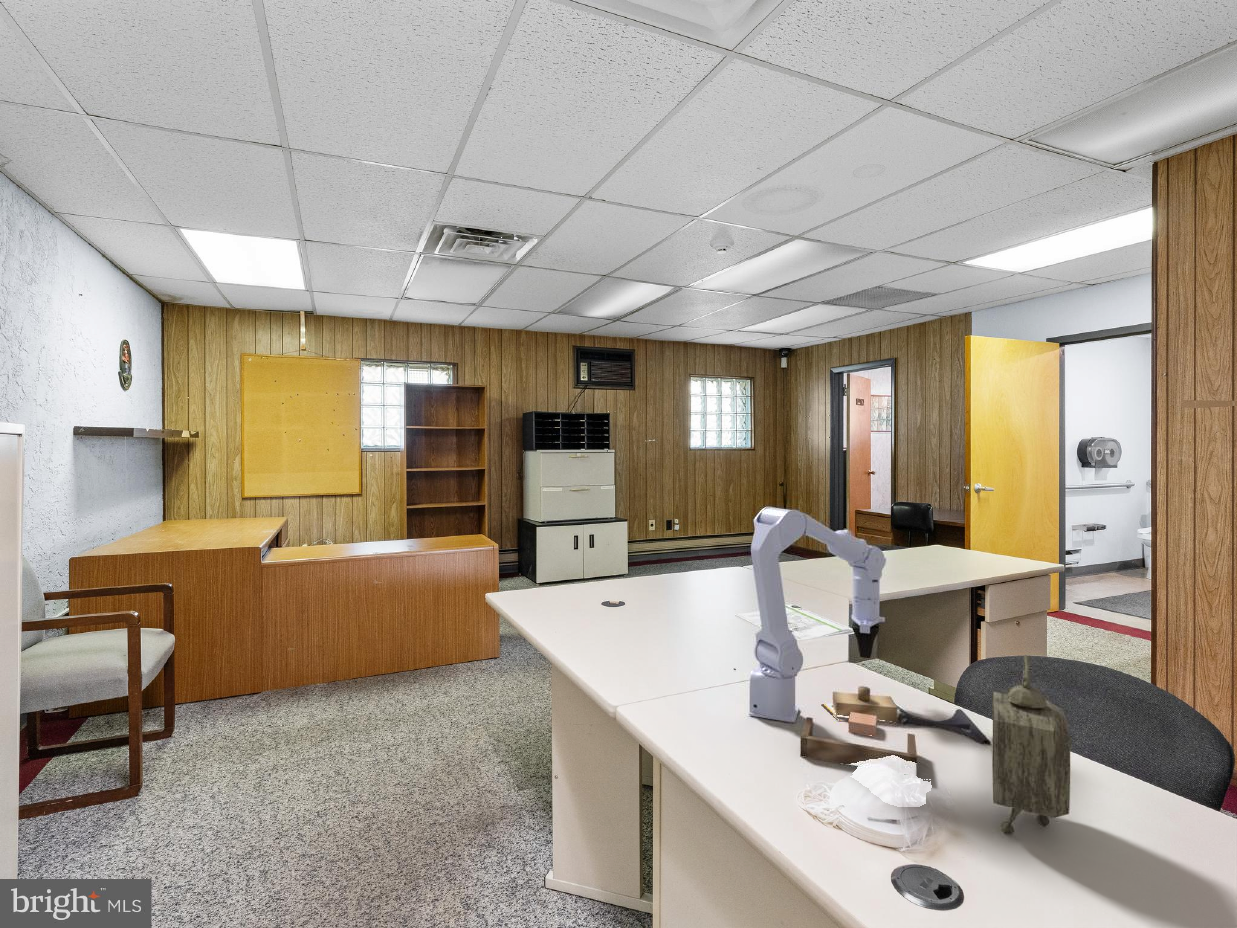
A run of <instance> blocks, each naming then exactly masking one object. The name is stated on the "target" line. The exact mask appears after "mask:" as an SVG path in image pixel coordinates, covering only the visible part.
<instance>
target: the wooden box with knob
mask: <svg viewBox="0 0 1237 928" xmlns="http://www.w3.org/2000/svg"><path fill="white" fill-rule="evenodd" d="M857 691H858V692H857V693H851V692H838V691H836V692H835V691H832V708H833V707H834V709H833V711H834V710H835V712H834V714H835V713H836V715H835V717H836V716H837V715H843V716H849V717H850V712H855V713H861V714H867V715H873V716H877V719H880V720H885V721H892V722H891V723H894V722H896V723H898V706H897V705H896V703H895V700H894V699H893V697H892V696H887V695H875V694H874V695H873V694H871V688H870V687H868V686H863V685H861V686H858V687H857ZM896 723H895V724H896Z"/></svg>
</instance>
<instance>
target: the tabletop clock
mask: <svg viewBox="0 0 1237 928" xmlns="http://www.w3.org/2000/svg"><path fill="white" fill-rule="evenodd" d="M1022 658H1023V660H1022V661H1023V663H1022V665H1023V666H1022V667H1023V673H1022V674H1023V675H1022V677H1021V680H1022V681H1021V683H1022V684H1020V685H1014V686H1013V687H1012V688H1010V689H1009V691H1007V693H1002V692H996V691H993V692H992V696H993V697H992V753H991V754H992V755H991V756H992V767H991V768H992V771H991V772H992V773H991V774H992V795H993V796H992V801H993V804H994V805H999V806H1003V807H1008V808H1010V809H1011V811H1010V815H1009V819H1008V822H1007V821H1004V822H1003V823H1002V824H1001V825H1000V829H1001V831H1002V833H1004V834H1005V835H1009V836H1011V835H1013V833H1014V832H1015V828H1014V826H1013V824H1014V822H1015V820H1016V819H1017V817H1018V815H1019V814H1020V813H1021V812H1028V813H1032V814H1035V815H1036V822H1037V823H1038V824H1039V825H1040V826H1042V827H1048V826H1049V825H1050V819H1049V818H1051V819H1055V818H1056V819H1057V818H1059V817H1063V816H1066V815H1070V806H1071V805H1070V804H1071V801H1070V800H1071V796H1070V795H1071V737H1070V736H1071V734H1070V729H1069V726H1068V722H1067V718H1066V716H1065V713H1064V710H1063V709H1062V708H1060V707H1059V706H1058V705H1055V704H1053V703H1052V702H1050V701H1049V700H1046V698H1045V697H1044V695H1043V694H1042V693H1041V691H1039V690H1038V689H1037V688H1035V687H1033V686H1032V687H1031V680H1032V679H1031V662H1030V657H1029V656H1028V655H1023V657H1022Z"/></svg>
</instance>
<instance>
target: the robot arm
mask: <svg viewBox="0 0 1237 928" xmlns="http://www.w3.org/2000/svg"><path fill="white" fill-rule="evenodd" d="M753 525H754V526H753V527H754V531H753V532H754V533H753V538H752V541H751V544H750V545H751V546H750V553H751V554H750V555H751V562H752V569H753V576H754V582H755V590H756V591H755V592H756V597H757V603H758V610H759V617H760V624H761V628H760V629H759V630H758V631H757V632H756V633H755V644H754V649H753V651H754V657H755V659H756V661H757V662H759V668H752V670H751V672H750V677H749V712H748V715H749V716H751V717H757V718H764V719H769V720H775V721H782V722H787V723H792V724H793V723H795V722H796V720H797V717H798V713H799V711H800V707H799V706H798V705H796V677H797V676H798V674H799V672H800V671H801V669H802V667H803V665H804V656H803V653H802V651H801V649H800V648H799V646H798V641H797V638H796V637H795V635H794V634H793V633H792V631H791V630H790V628H789V625H788V624H789V623H788V617H787V610H786V603H785V596H784V589H783V580H782V574H781V567H780V560H779V556H780V555H781V554H782V552H783V551H784V550H786V549H787V548H789V547H790V546H791V545H793V544H794V543H795V542H796V541H797V540H799V539H801V538H802V536H807V537H810V538H813V539H815V540H817V541H819V542H820V543H823V544H824V545H826V546H827V550H828V552H829V553H830V554H832V555H834V556H836V557H837V558H840V559H841V560H844V561H845V562H847V564H848V565H849V566H850V567H851V568H852V611H851V612H852V614H851V620H853V621H854V622H853V623H852V626H851V629H852V632H853V633H854V635H855V639H856V640H857V646H858V652H859V656H860V658H863V659H871V657H872V653H873V649H874V642H875V640H876V637H877V636H878V633H879V632H880V624H879V623H885V621H886V617H884V616H880V584H881V583H880V579H881V578H882V575H883V570H884V568H885V565H886V562H887V558H885V554H884V552H883V551H882V549H881V548H880V547H878V546H875V545H868V543H867V540H865V539H862V538H857V537H856V536H854V535H853V532H852V531H850V530H849V529H843V530H842V529H841V530H836V531H834V530H833V529H831V528H829V527H828V526H825V525H824V524H823V523H821V522H819V521H818V520H816V519H814V518H813V517H812V516H810V515H809V514H807V513H803V512H801V511H800V510H797V509H786V508H779V507H778V508H777V507H773V506H765V507H764V508H762V509H761V510H760V511H759V512H758V514H757V515H756V516H755V517H754V518H753Z"/></svg>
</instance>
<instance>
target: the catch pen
mask: <svg viewBox="0 0 1237 928" xmlns="http://www.w3.org/2000/svg"><path fill="white" fill-rule="evenodd" d="M813 720H814V718H813V717H809V716H806V718H805V722H804V724H803V728H802V732H801V734H800V740H799V741H800V748H799V749H800V750H799V751H800V757H802V756H804V757H803V758H808V759H813V758H815V759H814V760H818V759H822V760H821V761H824V760H825V762H829V761H830V763H836V764H840V763H843V764H842V765H845V764H851V763H857V762H859V761H866V760H869V759H878V758H883V757H886V756H891V755H895V756H898V757H900V758H902V759H904V760H906V761H912V762H915V763H917V764H918V754H917V745H916V735H915V734H913V733H907V742H906V743H907V747H906V749H907V752H903V751H898V750H892V749H886V748H881V747H876V746H869V745H863V744H856V743H851V742H848V741H847V742H846V741H841V740H835V739H829V738H822V737H819V736H814V735H813V731H814V728H813V727H814V724H813V723H814V721H813Z"/></svg>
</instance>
